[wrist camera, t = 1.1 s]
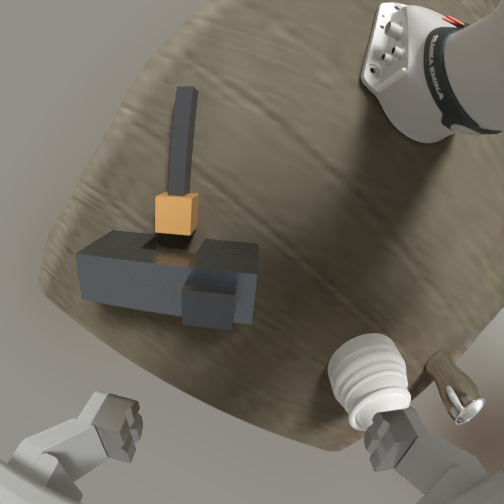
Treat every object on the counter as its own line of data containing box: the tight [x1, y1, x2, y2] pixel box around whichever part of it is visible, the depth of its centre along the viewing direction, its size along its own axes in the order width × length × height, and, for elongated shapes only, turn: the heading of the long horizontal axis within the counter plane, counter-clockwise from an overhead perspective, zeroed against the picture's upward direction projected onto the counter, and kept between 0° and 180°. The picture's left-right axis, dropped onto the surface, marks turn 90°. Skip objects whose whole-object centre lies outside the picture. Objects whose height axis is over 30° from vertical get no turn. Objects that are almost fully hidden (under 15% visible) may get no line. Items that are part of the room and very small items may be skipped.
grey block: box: [76, 231, 258, 331], centre depth 33 cm, size 6×21×13 cm, turn 85°
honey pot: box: [328, 333, 411, 431], centre depth 37 cm, size 13×13×18 cm
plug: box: [155, 87, 199, 236], centre depth 33 cm, size 18×4×4 cm, turn 174°
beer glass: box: [425, 350, 485, 425], centre depth 39 cm, size 7×7×15 cm
